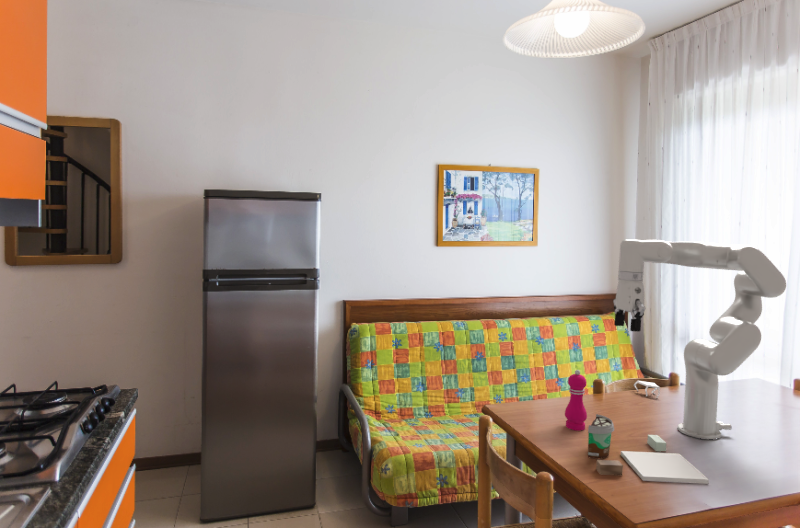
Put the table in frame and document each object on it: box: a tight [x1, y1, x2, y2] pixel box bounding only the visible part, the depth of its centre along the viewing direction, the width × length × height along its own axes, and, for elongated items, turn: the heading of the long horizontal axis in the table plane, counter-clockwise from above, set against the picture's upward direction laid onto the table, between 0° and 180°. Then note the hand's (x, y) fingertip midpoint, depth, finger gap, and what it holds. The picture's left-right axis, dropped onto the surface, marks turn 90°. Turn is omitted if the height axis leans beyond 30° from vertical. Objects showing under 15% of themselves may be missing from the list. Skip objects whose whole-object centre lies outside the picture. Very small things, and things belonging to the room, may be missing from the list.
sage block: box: [647, 434, 667, 452], centre depth 157 cm, size 6×3×3 cm, turn 177°
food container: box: [587, 413, 615, 460], centre depth 151 cm, size 12×6×10 cm, turn 148°
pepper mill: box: [564, 369, 588, 432], centre depth 171 cm, size 7×7×20 cm
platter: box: [620, 450, 710, 485], centre depth 142 cm, size 17×16×1 cm
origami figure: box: [633, 380, 661, 399], centre depth 211 cm, size 12×8×5 cm
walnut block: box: [595, 459, 624, 477], centre depth 139 cm, size 6×3×3 cm, turn 86°
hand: (627, 328), depth 167 cm, fingers open, 9 cm apart
